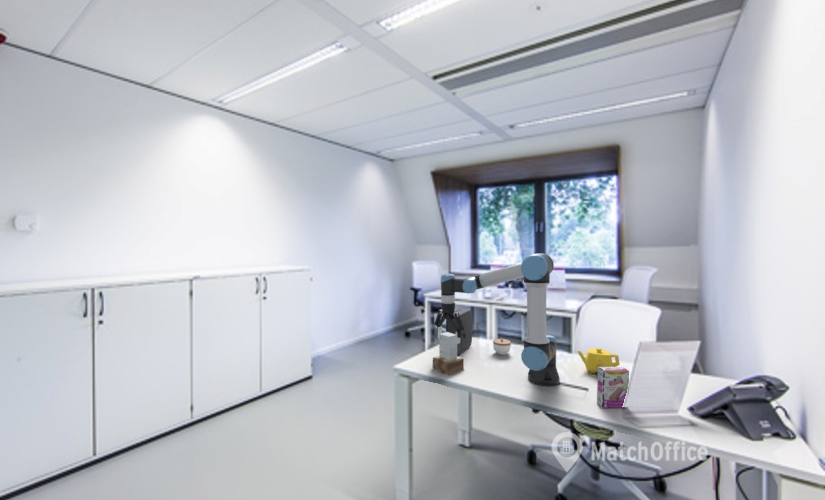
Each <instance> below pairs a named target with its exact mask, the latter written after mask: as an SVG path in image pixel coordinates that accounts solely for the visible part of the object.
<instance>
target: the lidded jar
mask: <svg viewBox="0 0 825 500" xmlns="http://www.w3.org/2000/svg"><path fill="white" fill-rule="evenodd" d="M492 343H493V350H494V352H495V353H496V354H497V355H499V356H507V355H508V353H509V352H510V351H511V345H512V344H511V343H512V341H510V340H509V339H505V338H496V339H494V340H492Z"/></svg>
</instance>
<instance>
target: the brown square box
mask: <svg viewBox="0 0 825 500" xmlns="http://www.w3.org/2000/svg"><path fill="white" fill-rule="evenodd" d="M464 365H465V359H464V358H463V357H461V356H459V355H457V358H456V359H453V360H447V359H444V358H441V357H439V355H438V356H434V357H432V369H433V370H435V371H438V372H440V373H443V374H445V375H449V376H450V375H452V374H455V373H458V372H461V371H463V370H464V369H465V367H464Z"/></svg>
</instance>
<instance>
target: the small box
mask: <svg viewBox="0 0 825 500" xmlns="http://www.w3.org/2000/svg"><path fill="white" fill-rule="evenodd" d="M438 340H439V341H438V342H439V344H438V345H439V346H438V348H439V351H438V354H439V355H438V356H439V357H441V358H444V359H447V360H453V359H456V358H457V356H458V354H457V344H456V334H452V333H449V332H446V331H445V332H442V333H441V334H439V339H438Z"/></svg>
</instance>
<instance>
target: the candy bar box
mask: <svg viewBox="0 0 825 500" xmlns="http://www.w3.org/2000/svg"><path fill="white" fill-rule="evenodd" d="M596 381H597V382H596V383H597V385H596V386H597V387H596V388H597V389H596V404H597V405H598V406H599V407H600V408H602V409H623V408H622V406H623V403H624V399H625V396H626V393H627V389H628V390H629V386H630V384H629V383H630V382H629V381H630V370H629V369H627V368H625V367H623V366H616V367H598V372H597V380H596ZM628 385H629V386H628Z"/></svg>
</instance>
